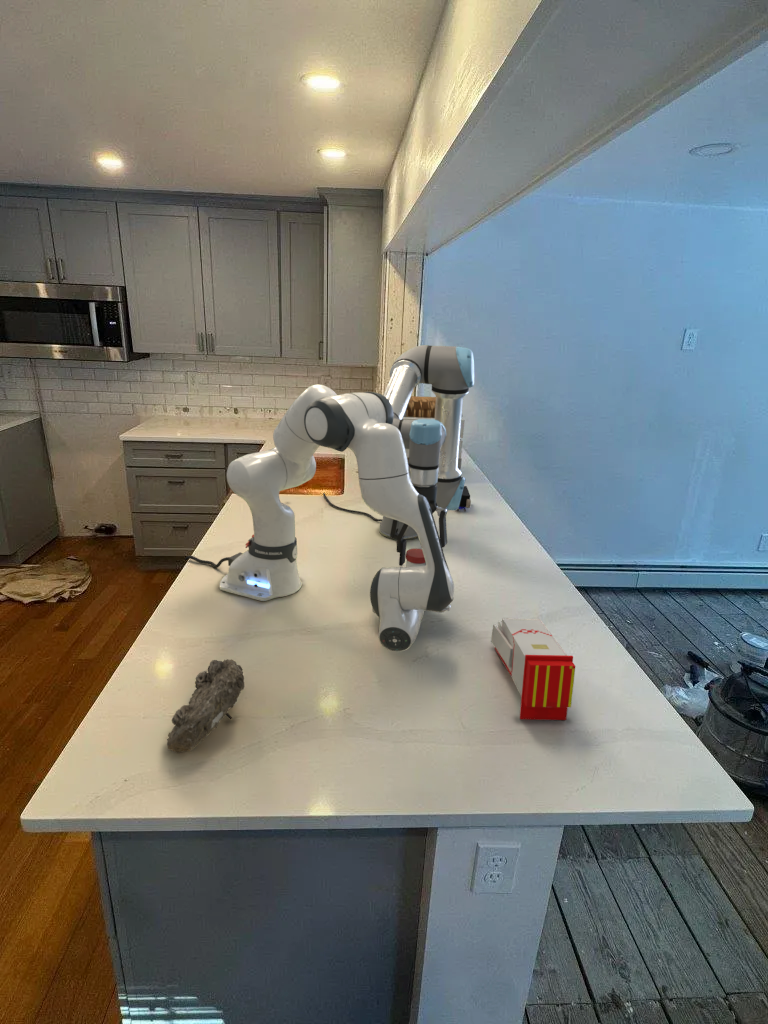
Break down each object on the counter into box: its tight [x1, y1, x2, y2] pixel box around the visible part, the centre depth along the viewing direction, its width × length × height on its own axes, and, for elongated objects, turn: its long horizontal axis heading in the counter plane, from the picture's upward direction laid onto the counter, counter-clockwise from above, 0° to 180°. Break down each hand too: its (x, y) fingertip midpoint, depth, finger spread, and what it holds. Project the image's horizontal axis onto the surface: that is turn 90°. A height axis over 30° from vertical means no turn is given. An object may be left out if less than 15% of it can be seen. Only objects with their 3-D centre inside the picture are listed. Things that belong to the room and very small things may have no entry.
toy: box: [490, 617, 576, 721], centre depth 122 cm, size 12×13×30 cm
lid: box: [405, 548, 425, 564], centre depth 147 cm, size 6×6×2 cm
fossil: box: [166, 658, 245, 754], centre depth 106 cm, size 22×10×15 cm
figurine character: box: [456, 485, 472, 513], centre depth 228 cm, size 7×8×15 cm
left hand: (415, 581), depth 151 cm, fingers closed on jar, 5 cm apart
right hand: (416, 566), depth 148 cm, fingers open, 7 cm apart
